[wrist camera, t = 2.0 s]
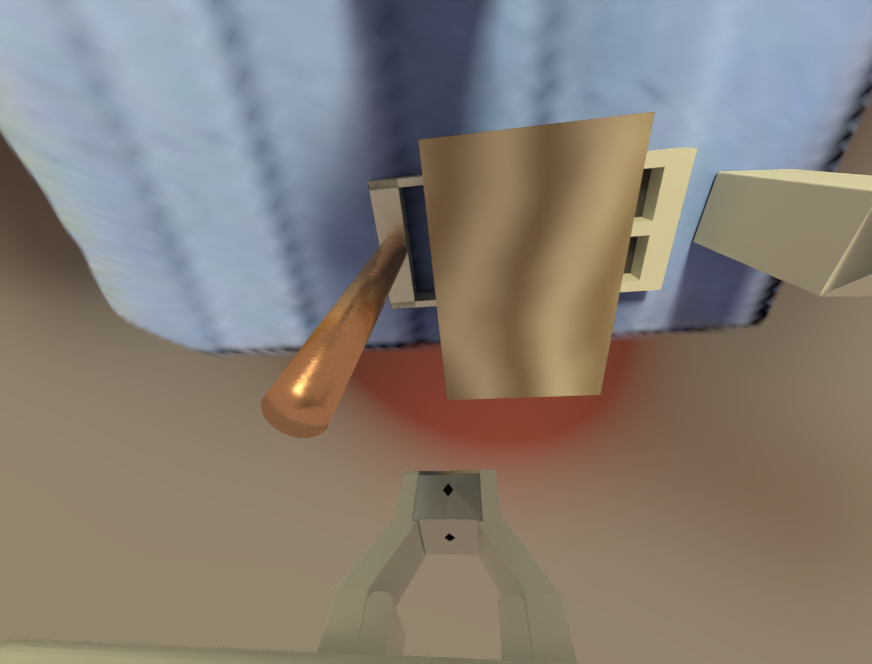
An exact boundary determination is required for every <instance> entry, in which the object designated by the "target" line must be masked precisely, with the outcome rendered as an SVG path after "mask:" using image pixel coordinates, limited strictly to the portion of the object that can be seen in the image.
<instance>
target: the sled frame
mask: <svg viewBox="0 0 872 664" xmlns="http://www.w3.org/2000/svg"><path fill="white" fill-rule="evenodd" d="M419 185H423V177H422V174H421V175H411V176H402V177H393V178H383V179H374V180H371V181H369V182H368V187H369V192H370V197H371V203H372V208H373V213H374V219H375V224H376V230H377V235H378V240H379V247H378V249H377V250H376V251H375V253H374V254H373V255H372V256H371V258H370V259H369V260H368V262H367V263H366V264H365V266H364V267H363V268H362V270H361V271H360V272H359V273H358V275H357V276H356V277H355V279H354V280H353V281H352V283H351V284H350V285H349V286H348V288H347V289H346V290H345V292H344V293H343V294H342V296H341V297H340V298H339V300H338V301H337V302H336V303H335V305H334V306H333V307H332V309H331V310H330V311H329V313H328V314H327V315H326V316H325V318H324V319H323V320H322V322H321V323H320V324H319V326H318V327H317V328H316V330H315V331H314V332H313V333H312V335H311V336H310V337H309V339H308V340H307V341H306V343H305V344H304V345H303V346H302V348H301V349H300V350H299V352H298V353H297V354H296V356H295V357H294V358H293V360H292V361H291V362H290V364H289V365H288V366H287V367H286V369H285V370H284V371H283V373H282V374H281V375H280V377H279V378H278V379H277V380H276V382H275V383H274V384H273V386H272V387H271V388H270V390H269V391H268V392H267V393H266V395H265V396H264V398H263V399H262V404H261V408H262V413H263V415H264V417H265V419H266V420H267V421H268V422H269V423H270V424H271V425H272V426H273V427H274V428H276V429H277V430H279V431H280V432H282V433H284V434H287V435H290V436H293V437H299V438H310V437H314V436H317V435H320V434H321V433H323V432H324V431H325V430H326V428H327V427H328V424H329V422H330V420H331V418H332V416H333V414H334V411H335V409H336V407H337V405H338V403H339V401H340V399H341V396H342V394H343V392H344V390H345V388H346V386H347V383H348V381H349V379H350V377H351V375H352V372H353V370H354V368H355V366H356V364H357V362H358V360H359V358H360V355H361V353H362V351H363V349H364V347H365V345H366V342H367V340H368V338H369V336H370V334H371V332H372V329H373V327H374V325H375V323H376V321H377V319H378V316H379V314H380V312H381V310H382V308H383V306H384V304H385V301H386V299H387V297H388V295H389V299H390V304H391V309H399V308H415V307H430V306H437V304H436V295H435V292H426V293H417V289H416V282H415V275H414V268H413V260H412V253H411V246H410V239H409V232H408V225H407V217H406V210H405V203H404V196H403V189H402V187H409V186H419Z"/></svg>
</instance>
